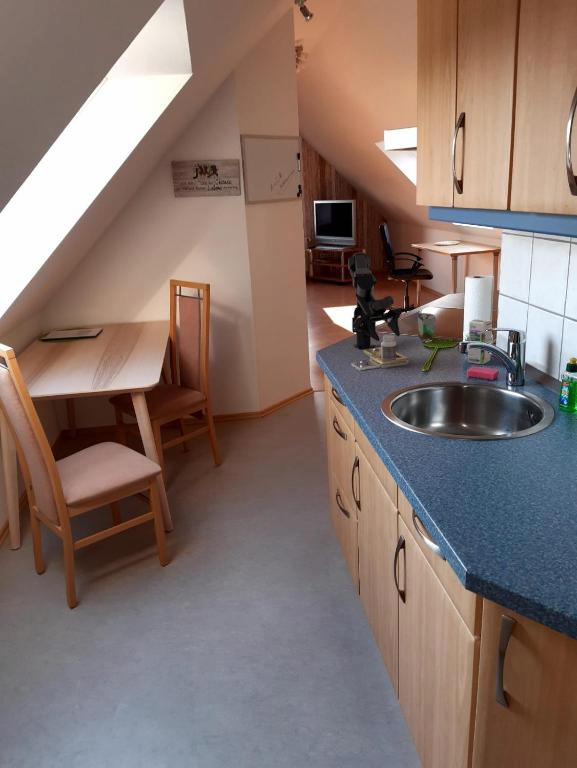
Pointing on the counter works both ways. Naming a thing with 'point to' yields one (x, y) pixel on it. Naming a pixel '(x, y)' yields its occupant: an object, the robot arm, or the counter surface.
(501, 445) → the counter surface
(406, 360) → the beige flat piece
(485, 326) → the syrup box
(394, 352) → the pill bottle
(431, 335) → the food container
